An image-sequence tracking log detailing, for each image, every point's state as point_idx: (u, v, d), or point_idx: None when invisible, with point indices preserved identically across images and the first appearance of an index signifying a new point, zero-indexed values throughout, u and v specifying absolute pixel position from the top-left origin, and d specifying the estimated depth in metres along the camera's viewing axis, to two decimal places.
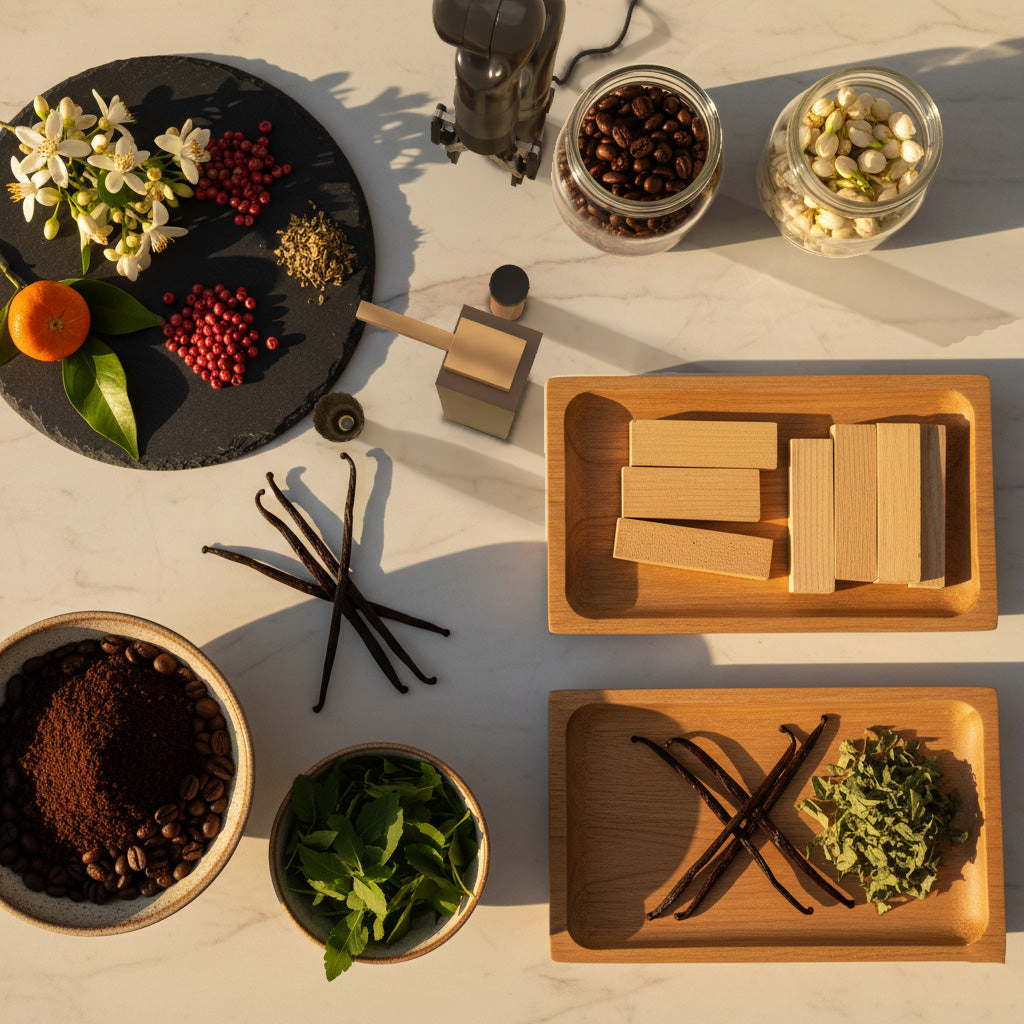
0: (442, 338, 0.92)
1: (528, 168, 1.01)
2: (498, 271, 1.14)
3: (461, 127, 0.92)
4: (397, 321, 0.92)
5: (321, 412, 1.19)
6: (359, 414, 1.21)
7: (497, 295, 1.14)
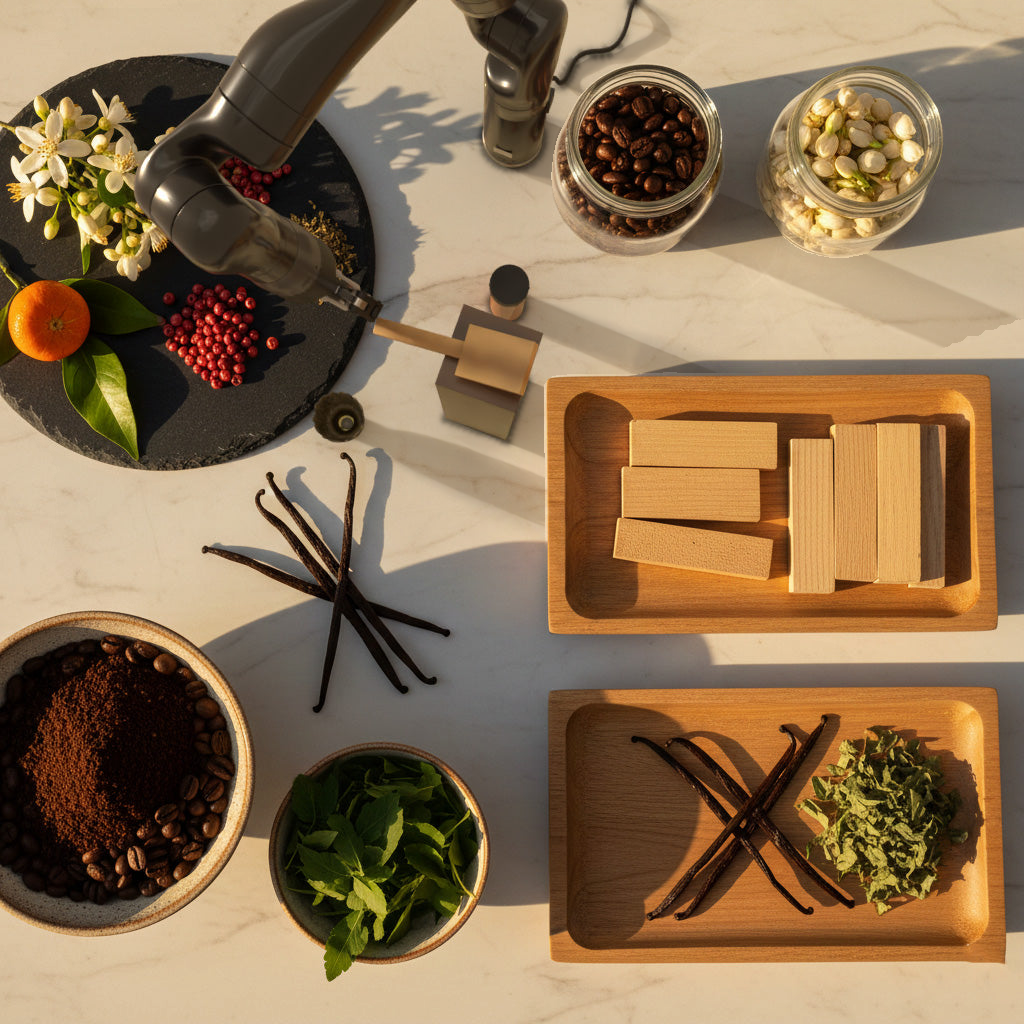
0: (453, 347, 0.92)
1: None
2: (498, 271, 1.14)
3: None
4: (410, 334, 0.93)
5: (321, 412, 1.19)
6: (359, 414, 1.21)
7: (497, 295, 1.14)
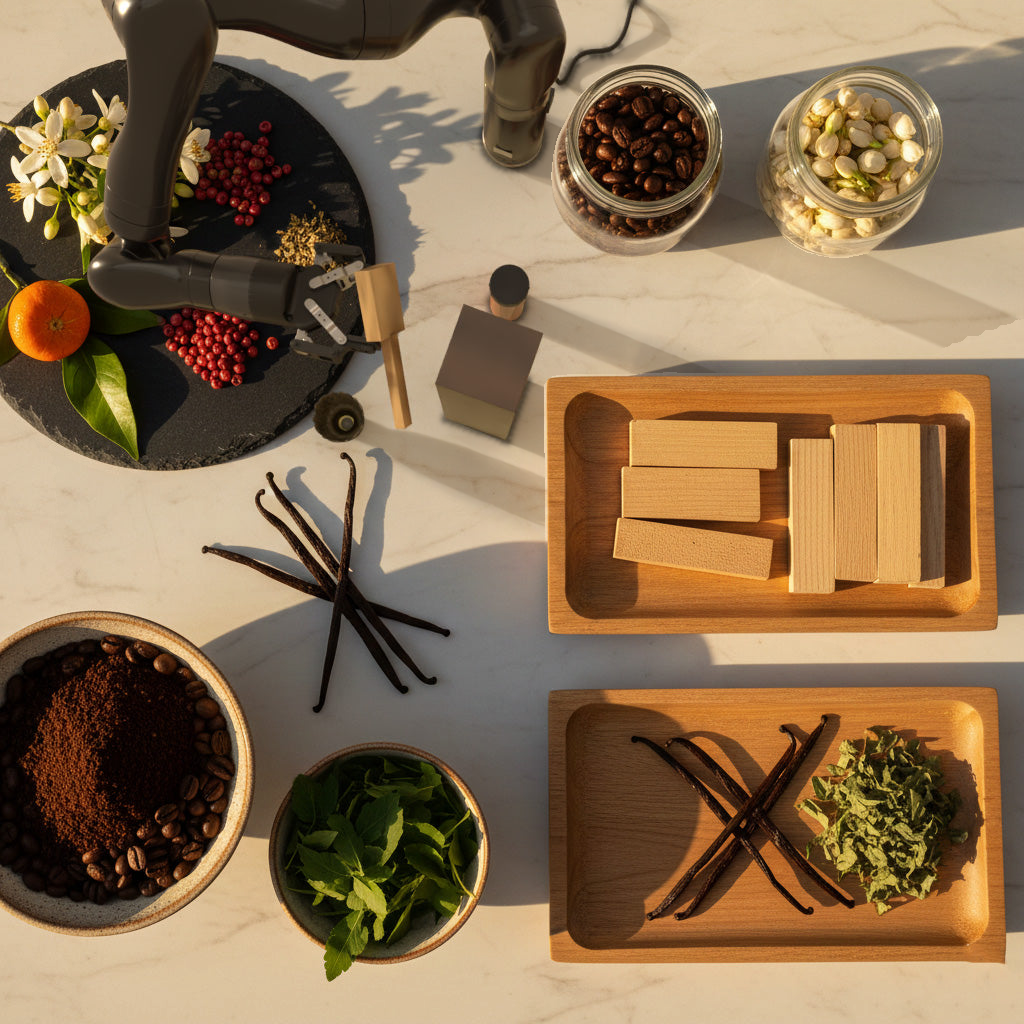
0: None
1: None
2: (498, 271, 1.14)
3: None
4: None
5: (321, 412, 1.19)
6: (359, 414, 1.21)
7: (497, 295, 1.14)
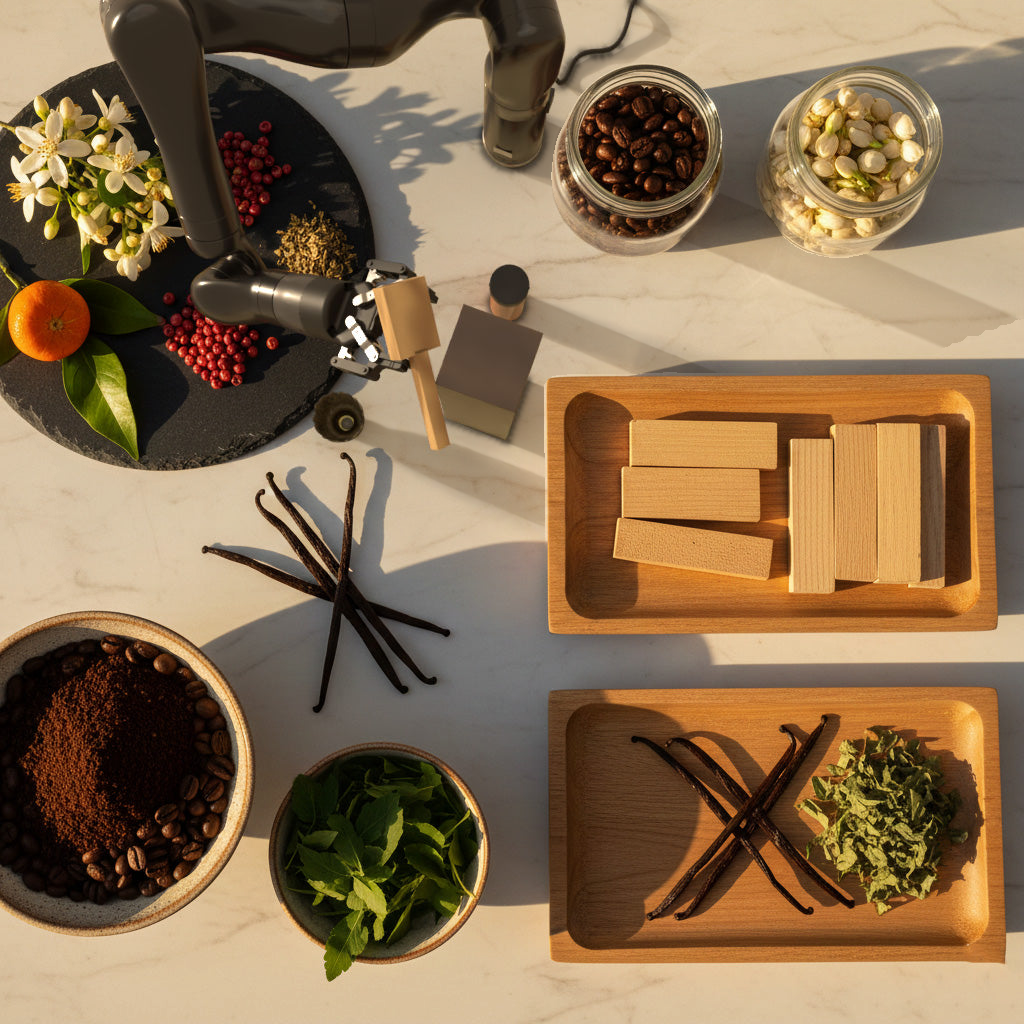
0: None
1: None
2: (498, 271, 1.14)
3: None
4: None
5: (321, 412, 1.19)
6: (359, 414, 1.21)
7: (497, 295, 1.14)
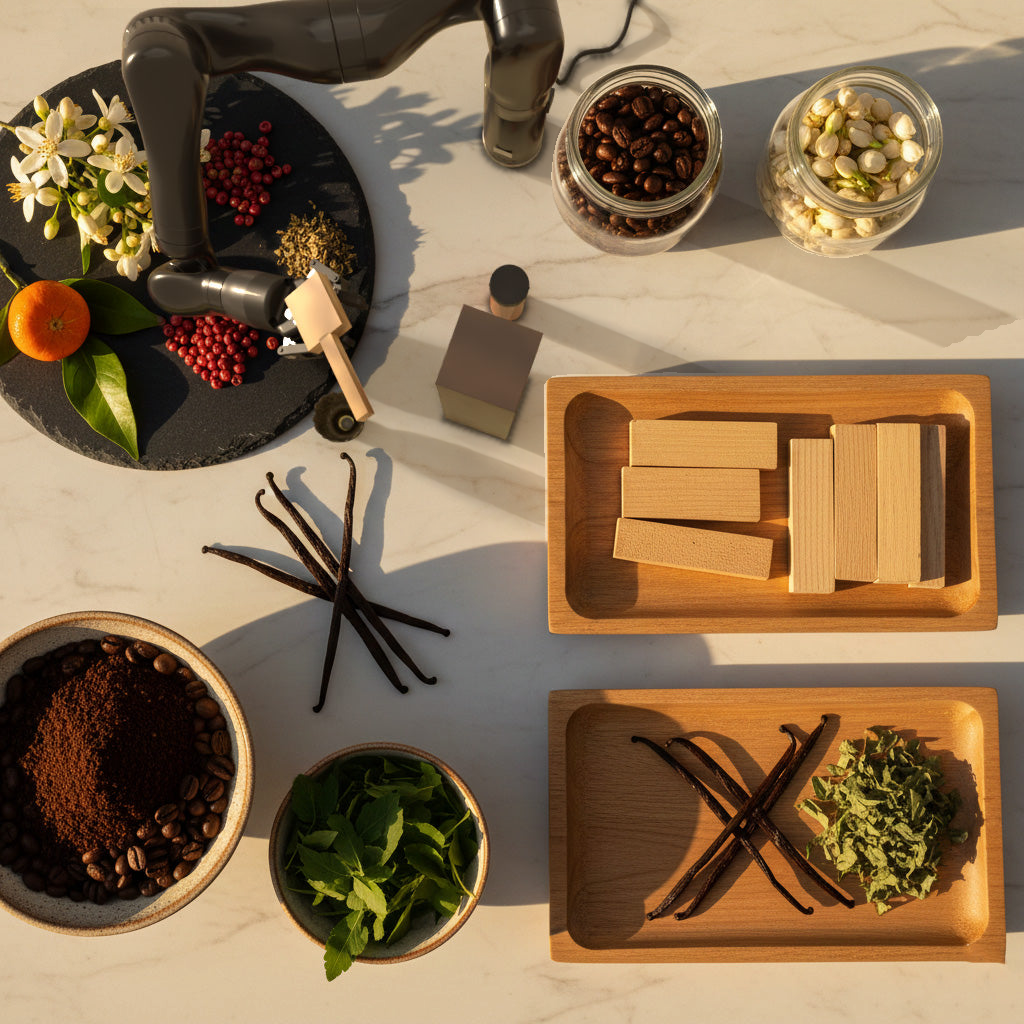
0: None
1: None
2: (498, 271, 1.14)
3: None
4: None
5: (321, 412, 1.19)
6: None
7: (497, 295, 1.14)
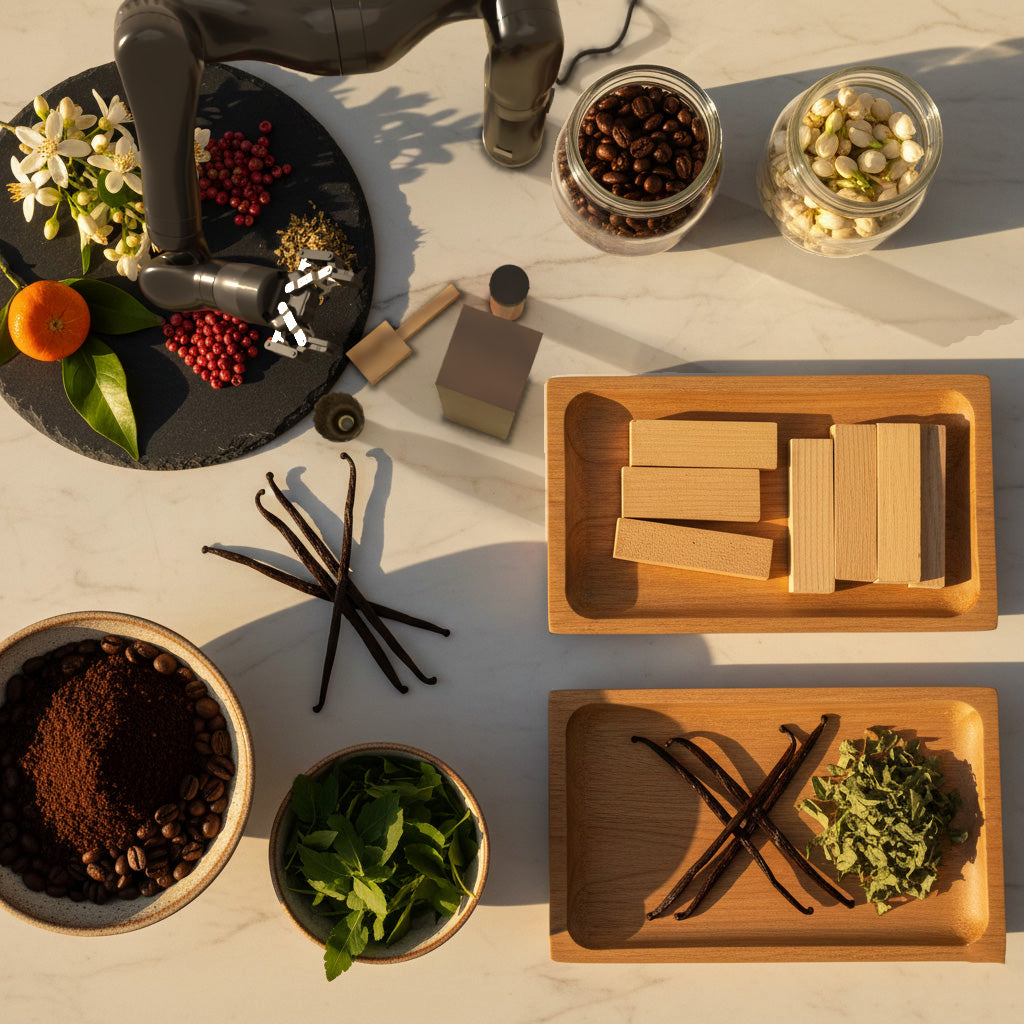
0: (405, 330, 1.23)
1: None
2: (498, 271, 1.14)
3: None
4: (432, 308, 1.23)
5: (321, 412, 1.19)
6: (359, 414, 1.21)
7: (497, 295, 1.14)
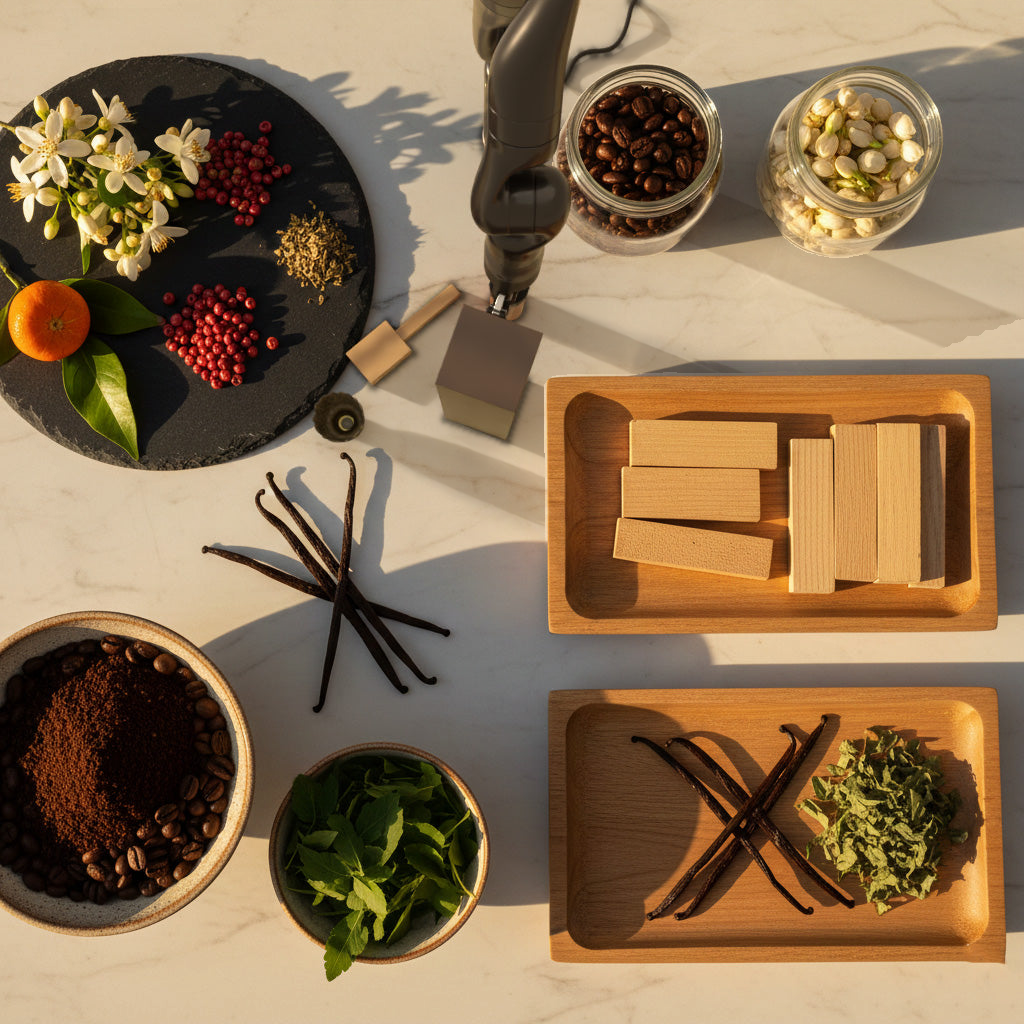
0: (405, 330, 1.23)
1: None
2: None
3: None
4: (432, 308, 1.23)
5: (321, 412, 1.19)
6: (359, 414, 1.21)
7: None
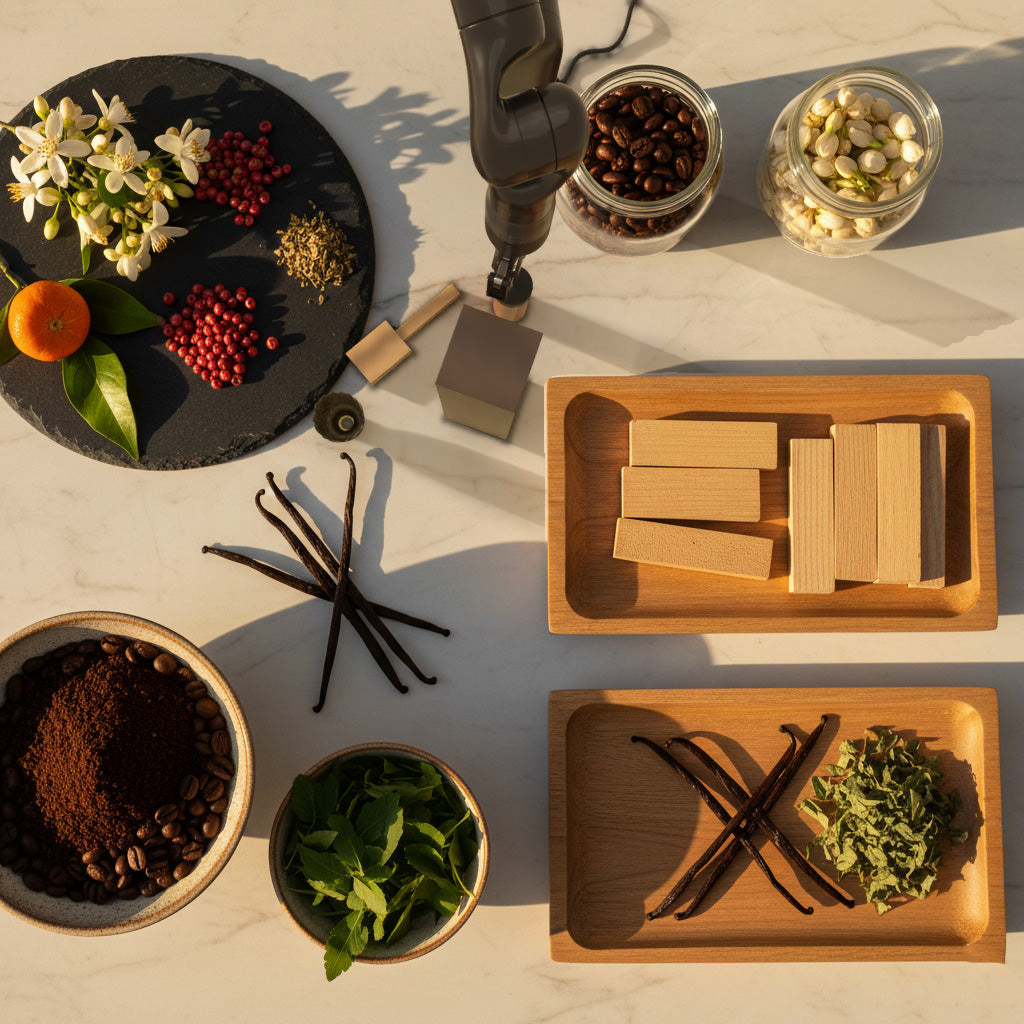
0: (405, 330, 1.23)
1: None
2: (524, 297, 1.14)
3: (540, 237, 0.87)
4: (432, 308, 1.23)
5: (321, 412, 1.19)
6: (359, 414, 1.21)
7: (525, 273, 1.14)
